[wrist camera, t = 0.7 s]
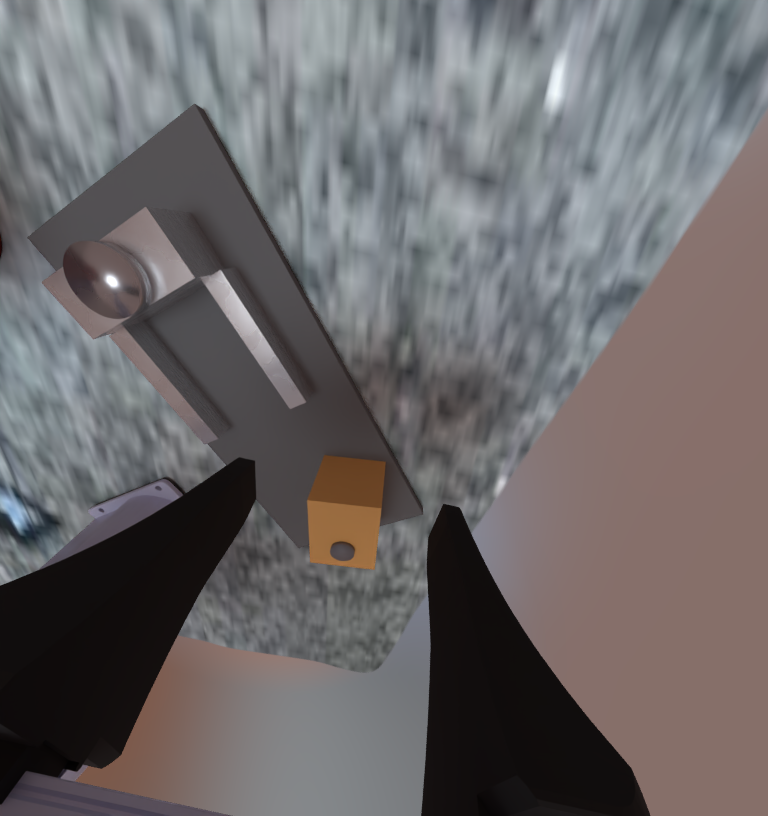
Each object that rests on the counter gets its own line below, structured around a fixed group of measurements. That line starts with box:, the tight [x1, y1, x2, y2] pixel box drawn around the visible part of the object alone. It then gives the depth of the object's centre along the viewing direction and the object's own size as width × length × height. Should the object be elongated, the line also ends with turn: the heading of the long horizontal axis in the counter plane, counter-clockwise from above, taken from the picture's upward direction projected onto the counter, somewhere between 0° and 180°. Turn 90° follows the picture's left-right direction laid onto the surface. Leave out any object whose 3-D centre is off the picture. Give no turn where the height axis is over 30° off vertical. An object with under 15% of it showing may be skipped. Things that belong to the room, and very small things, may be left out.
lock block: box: [307, 455, 386, 570], centre depth 22 cm, size 4×6×5 cm
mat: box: [27, 104, 423, 548], centre depth 21 cm, size 12×27×1 cm, turn 25°
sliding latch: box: [42, 207, 313, 444], centre depth 17 cm, size 8×11×4 cm
